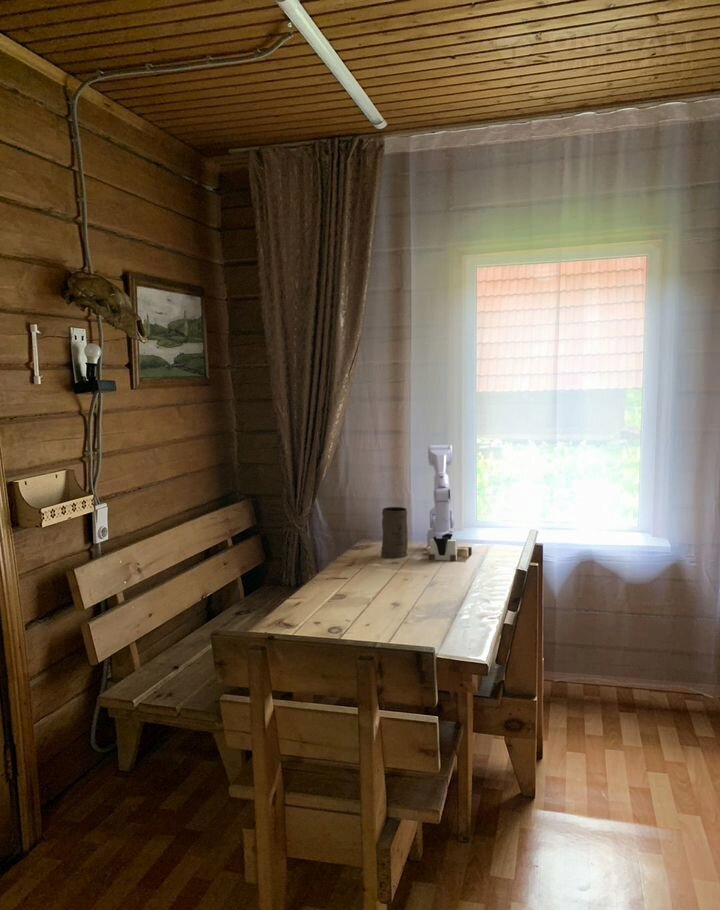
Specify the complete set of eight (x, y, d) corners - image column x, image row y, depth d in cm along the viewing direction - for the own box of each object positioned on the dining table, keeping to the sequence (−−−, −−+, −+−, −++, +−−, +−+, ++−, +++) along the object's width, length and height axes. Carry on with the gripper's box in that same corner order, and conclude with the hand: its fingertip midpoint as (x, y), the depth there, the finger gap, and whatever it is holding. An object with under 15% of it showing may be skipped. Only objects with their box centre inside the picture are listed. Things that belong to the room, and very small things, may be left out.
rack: (418, 562, 269) (418, 552, 269) (427, 554, 282) (427, 545, 282) (465, 564, 263) (464, 554, 263) (471, 556, 276) (471, 547, 276)
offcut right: (451, 556, 274) (451, 548, 274) (453, 554, 277) (453, 547, 277) (467, 556, 272) (466, 549, 272) (468, 555, 275) (468, 547, 275)
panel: (430, 559, 270) (429, 540, 269) (431, 557, 272) (431, 538, 272) (455, 560, 266) (455, 541, 266) (457, 559, 269) (456, 539, 268)
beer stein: (414, 558, 277) (413, 508, 275) (392, 562, 271) (391, 511, 269) (391, 552, 289) (389, 504, 288) (370, 556, 283) (368, 507, 282)
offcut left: (427, 555, 277) (427, 547, 277) (429, 553, 280) (428, 546, 280) (442, 555, 275) (441, 548, 275) (443, 554, 278) (443, 546, 278)
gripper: (448, 522, 260) (449, 558, 261) (456, 516, 274) (457, 550, 275) (430, 521, 262) (431, 557, 263) (439, 515, 276) (440, 549, 277)
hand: (443, 553), depth 269 cm, fingers open, 5 cm apart
